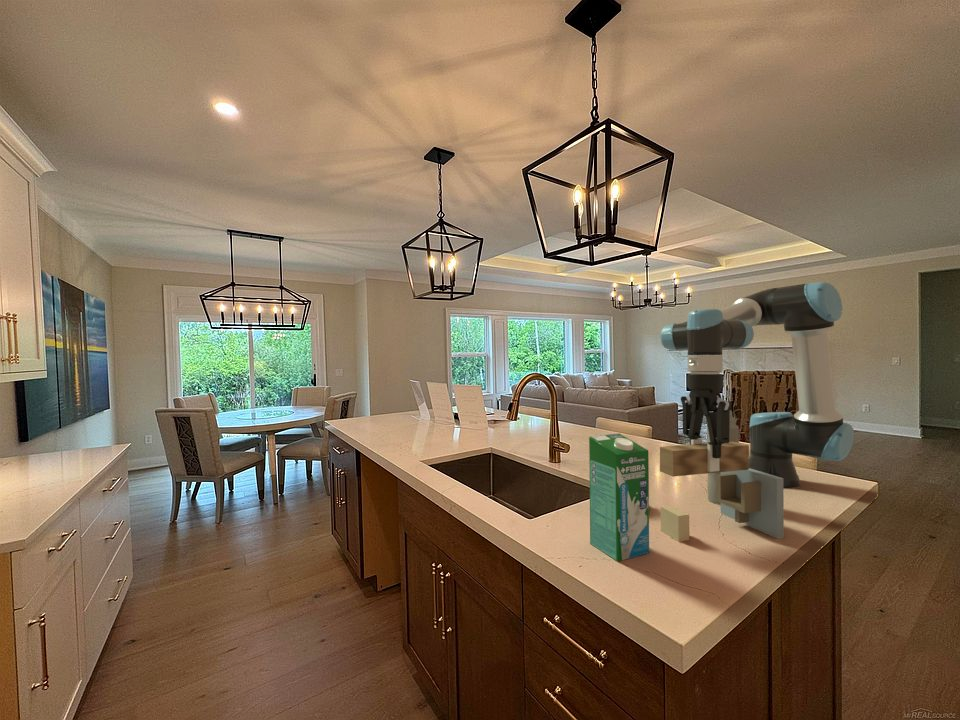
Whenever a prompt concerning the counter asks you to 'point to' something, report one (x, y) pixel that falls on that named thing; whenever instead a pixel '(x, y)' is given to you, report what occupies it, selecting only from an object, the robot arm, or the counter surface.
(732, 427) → the thermos bottle
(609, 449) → the milk carton
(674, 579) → the counter surface
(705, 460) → the brown wooden block
